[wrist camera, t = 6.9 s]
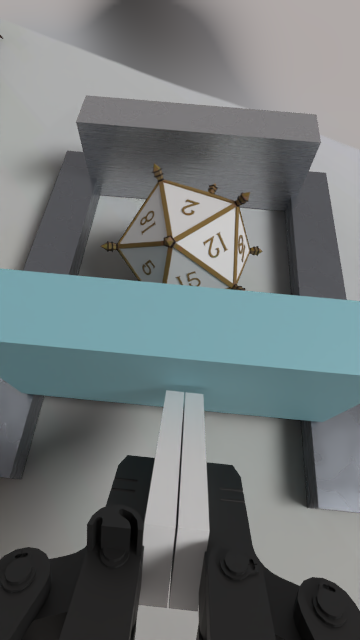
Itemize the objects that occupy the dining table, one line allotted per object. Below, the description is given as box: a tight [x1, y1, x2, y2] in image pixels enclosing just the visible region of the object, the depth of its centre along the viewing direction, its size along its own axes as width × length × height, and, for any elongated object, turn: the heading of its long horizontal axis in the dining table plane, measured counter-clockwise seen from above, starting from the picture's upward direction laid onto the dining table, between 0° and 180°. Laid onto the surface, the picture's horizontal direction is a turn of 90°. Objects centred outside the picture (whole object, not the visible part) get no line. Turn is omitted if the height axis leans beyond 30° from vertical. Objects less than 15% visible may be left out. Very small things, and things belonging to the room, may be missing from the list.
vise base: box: [0, 96, 360, 513], centre depth 21 cm, size 21×24×6 cm
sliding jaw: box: [0, 269, 360, 422], centre depth 16 cm, size 16×3×7 cm, turn 85°
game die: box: [101, 163, 262, 291], centre depth 20 cm, size 9×8×10 cm
